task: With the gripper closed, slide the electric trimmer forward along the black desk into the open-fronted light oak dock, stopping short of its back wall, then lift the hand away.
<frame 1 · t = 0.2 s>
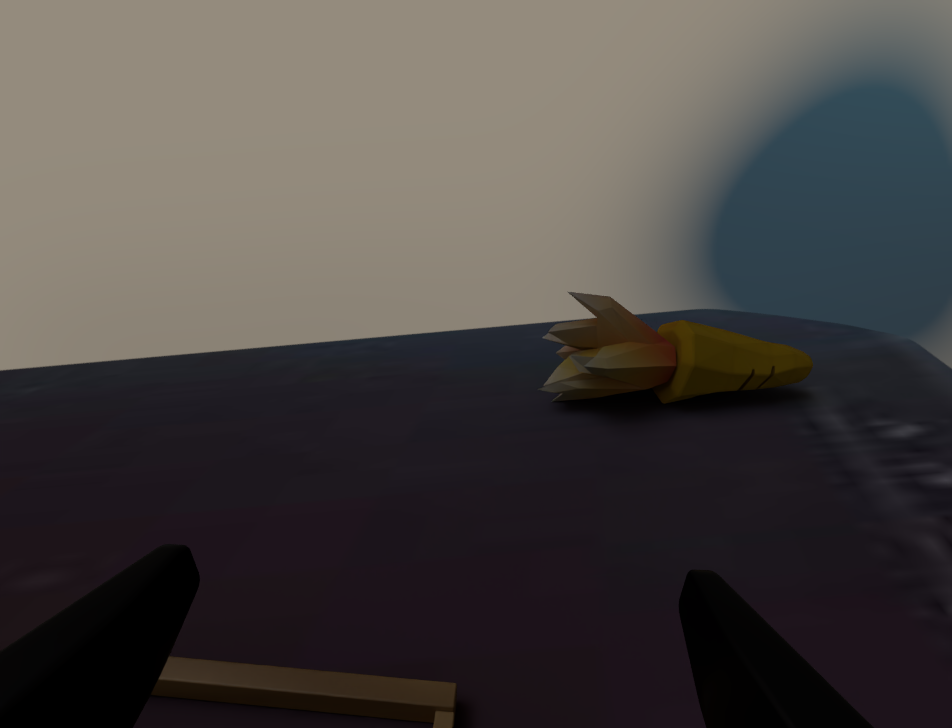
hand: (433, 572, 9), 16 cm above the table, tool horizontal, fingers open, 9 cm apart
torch: (666, 399, 44), on the table
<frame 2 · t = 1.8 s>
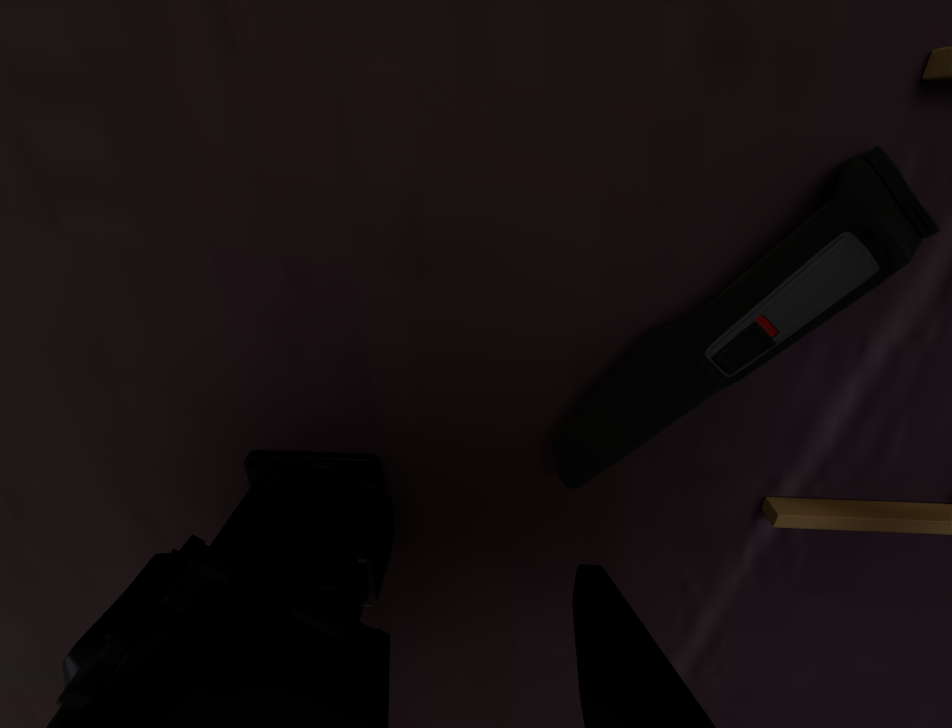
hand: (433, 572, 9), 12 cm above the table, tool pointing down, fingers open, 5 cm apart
dock: (945, 334, 18), on the table
electric trimmer: (708, 326, 19), on the table
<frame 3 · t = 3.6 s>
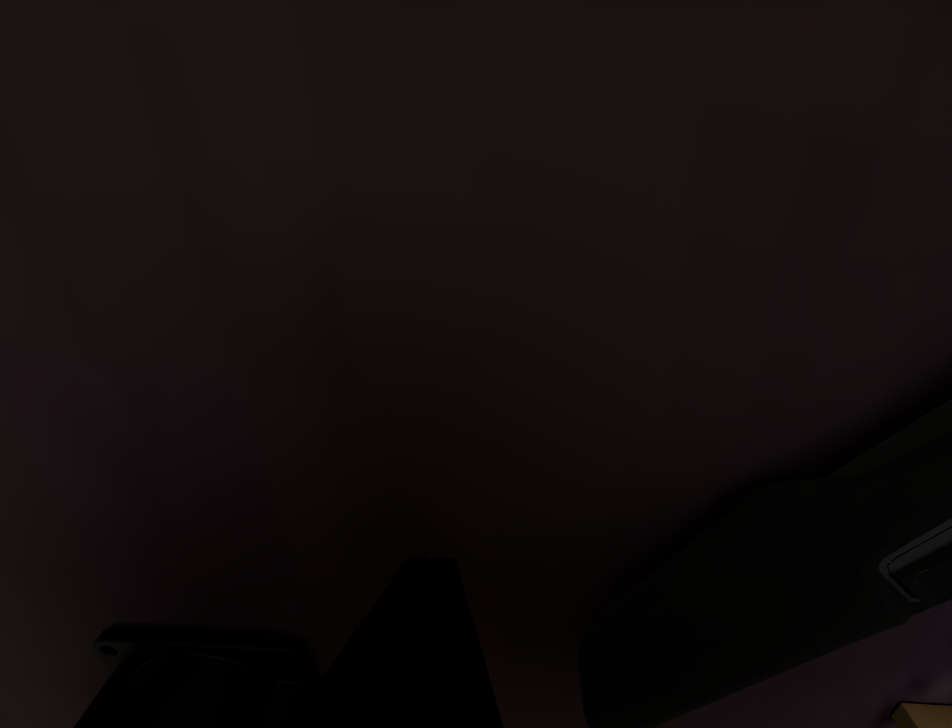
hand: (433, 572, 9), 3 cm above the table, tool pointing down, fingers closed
electric trimmer: (846, 474, 11), on the table
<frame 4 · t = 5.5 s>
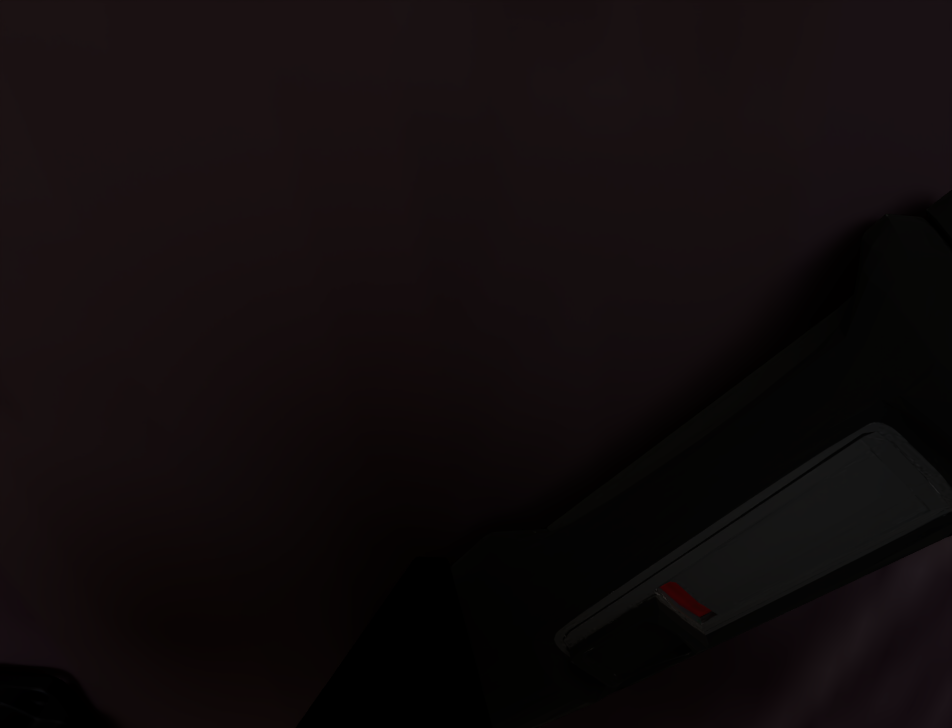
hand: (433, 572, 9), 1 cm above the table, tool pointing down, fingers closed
electric trimmer: (598, 519, 10), on the table, touching gripper
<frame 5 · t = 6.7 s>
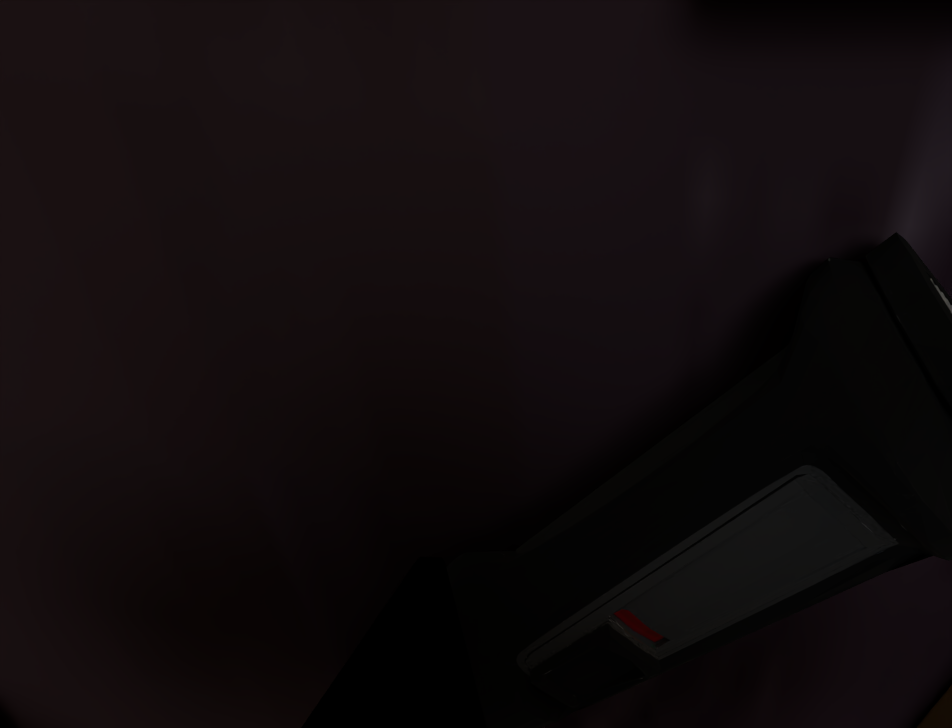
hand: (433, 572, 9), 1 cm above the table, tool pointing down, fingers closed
dock: (834, 534, 9), on the table
electric trimmer: (570, 540, 10), on the table, touching gripper
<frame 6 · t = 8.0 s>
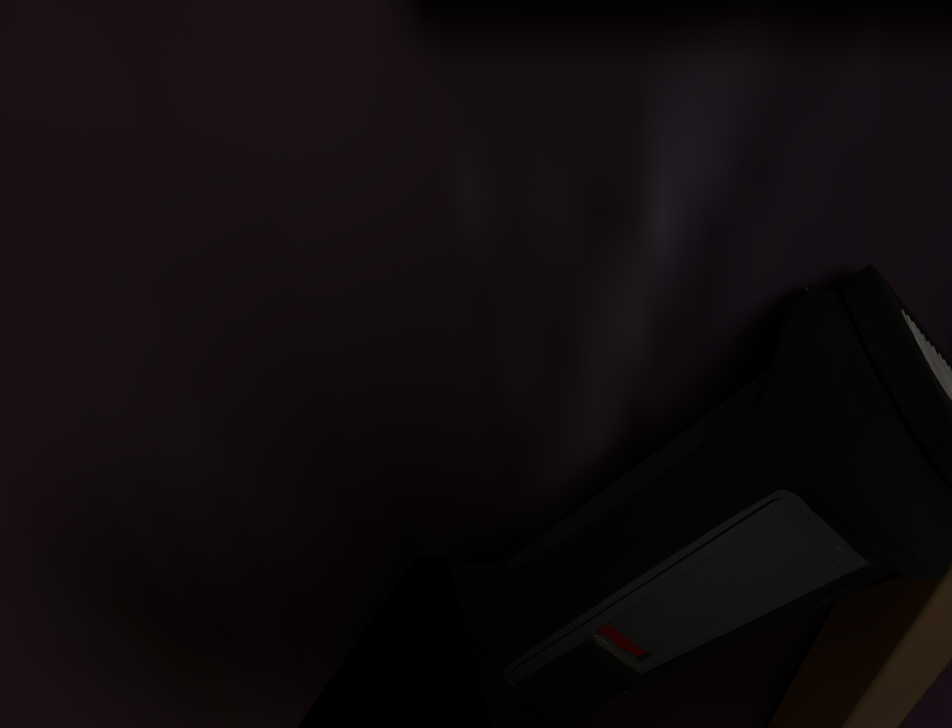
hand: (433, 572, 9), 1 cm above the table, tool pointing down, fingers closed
dock: (657, 521, 9), on the table
electric trimmer: (558, 552, 10), on the table, touching dock, gripper
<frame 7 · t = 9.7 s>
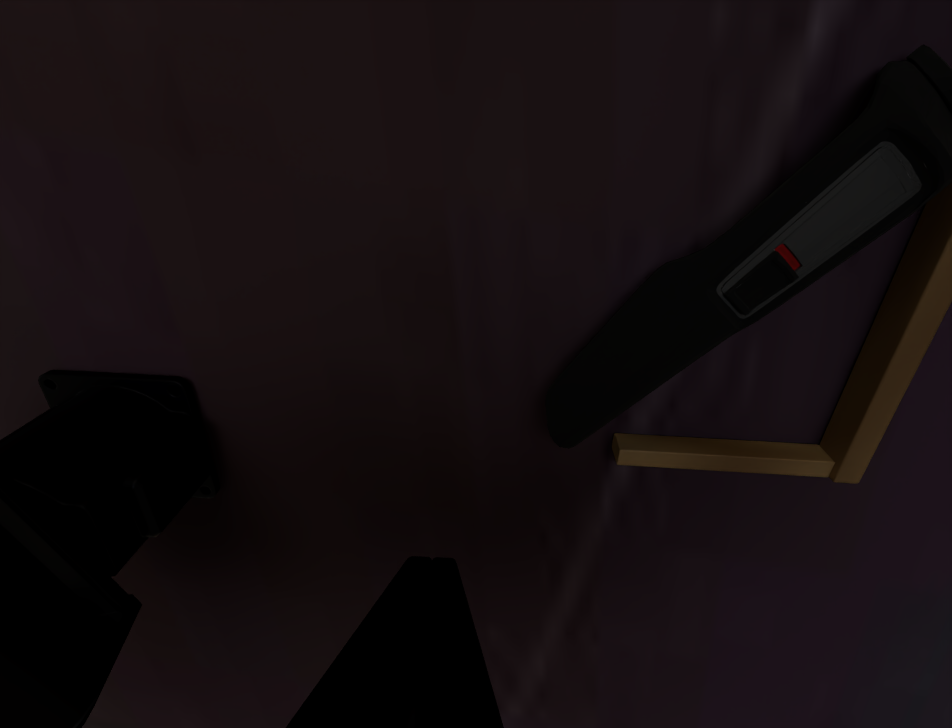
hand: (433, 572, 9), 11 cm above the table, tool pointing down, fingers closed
dock: (786, 235, 16), on the table
electric trimmer: (719, 268, 17), on the table
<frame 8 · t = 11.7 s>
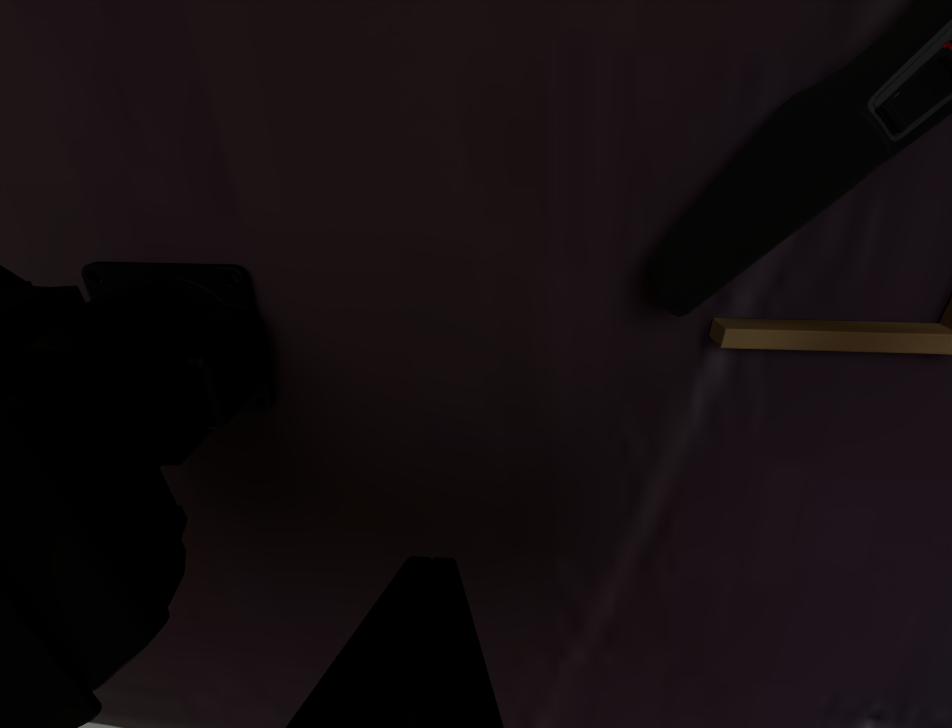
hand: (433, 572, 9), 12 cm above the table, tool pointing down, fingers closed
dock: (927, 61, 15), on the table
electric trimmer: (846, 109, 15), on the table
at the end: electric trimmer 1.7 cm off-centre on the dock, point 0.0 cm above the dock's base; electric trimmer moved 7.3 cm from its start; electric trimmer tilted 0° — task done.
